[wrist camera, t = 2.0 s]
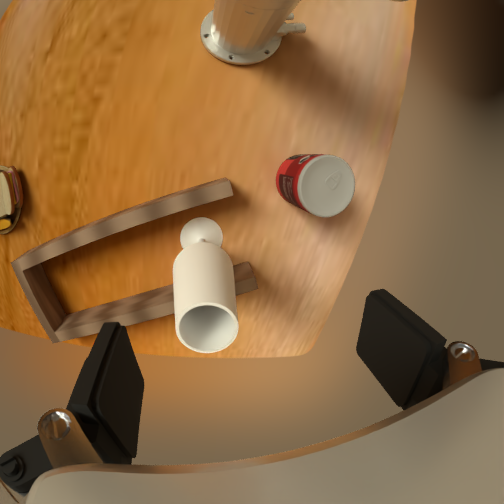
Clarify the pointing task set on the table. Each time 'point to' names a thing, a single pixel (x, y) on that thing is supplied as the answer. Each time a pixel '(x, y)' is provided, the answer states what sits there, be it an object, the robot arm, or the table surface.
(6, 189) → the toy sandwich meal
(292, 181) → the canned food
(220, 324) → the champagne flute
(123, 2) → the table surface
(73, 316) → the walnut U-rest
